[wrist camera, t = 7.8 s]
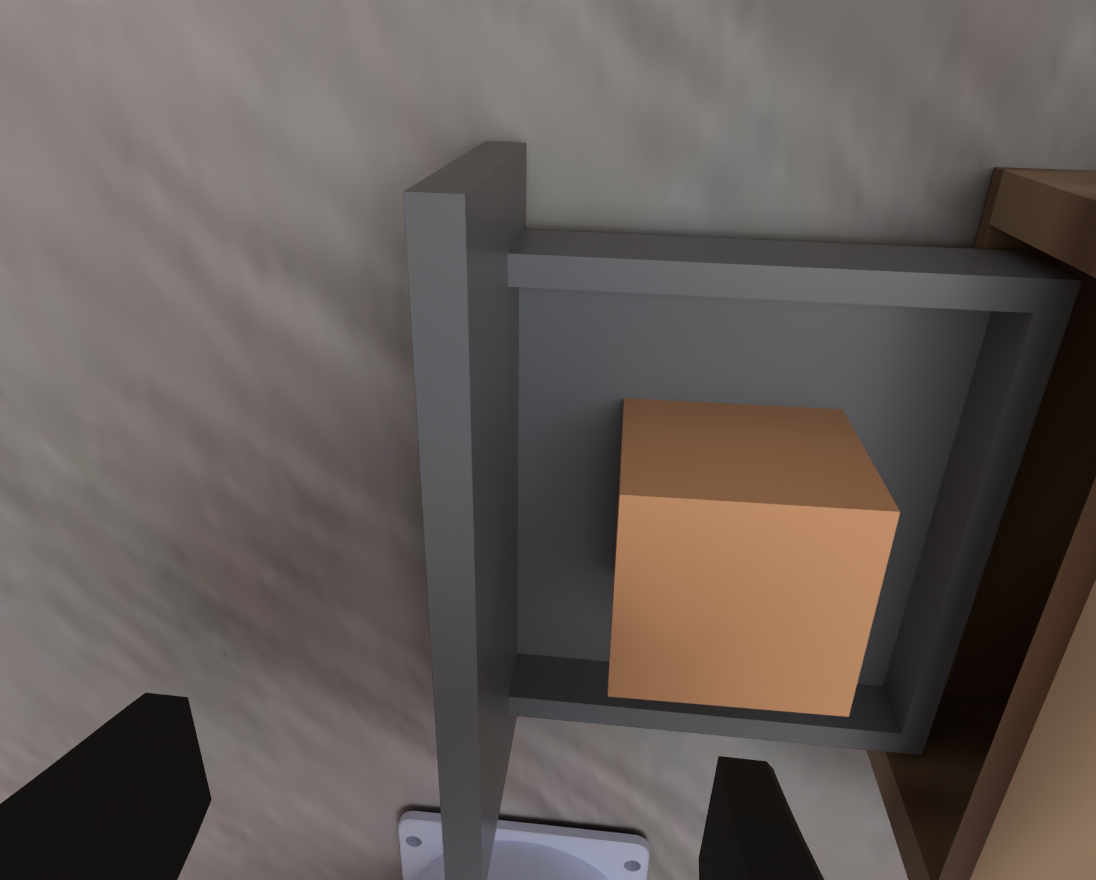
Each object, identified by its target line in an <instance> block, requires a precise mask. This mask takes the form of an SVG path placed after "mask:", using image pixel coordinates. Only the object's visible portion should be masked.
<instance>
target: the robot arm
mask: <svg viewBox="0 0 1096 880" xmlns="http://www.w3.org/2000/svg"><path fill="white" fill-rule="evenodd" d="M210 802H211V795H210V791H209V787H208V782H207V778H206V774H205V769H204V765H203V761H202V756H201V752H200V748H199V744H198V739H197V735H196V731H195V726H194V722H193V718H192V713H191V709H190V705H189V700H188V697H180V696H171V695H161V694H152V693H145V694H143V695H142V696H141V697H139V698H138V699H137V700H135V701H134V702H133V703H131V704H130V705H129V706H127V707H126V708H125V709H123V710H122V711H121V712H119V713H118V714H117V715H115V716H114V717H113V718H112V719H110V720H109V721H108V722H106V723H105V724H104V725H103V726H101V727H100V728H99V729H97V730H96V731H95V732H94V733H92V734H91V735H90V736H88V737H87V738H86V739H85V740H83V741H82V742H81V743H79V744H78V745H77V746H76V747H74V748H73V749H72V750H70V751H69V752H68V753H67V754H65V755H64V756H63V757H61V758H60V759H59V760H58V761H56V762H55V763H54V764H52V765H51V766H50V767H49V768H47V769H46V770H45V771H43V772H42V773H41V774H39V775H38V776H37V777H35V778H34V779H33V780H31V781H30V782H29V783H28V784H26V785H25V786H24V787H22V788H21V789H20V790H18V791H17V792H16V793H14V794H13V795H12V796H10V797H9V798H8V799H6V800H5V801H4V802H2V803H1V804H0V880H177V879H178V877H179V875H180V872H181V870H182V868H183V866H184V863H185V861H186V859H187V857H188V854H189V852H190V850H191V848H192V845H193V843H194V841H195V838H196V836H197V834H198V831H199V829H200V826H201V824H202V822H203V819H204V817H205V814H206V812H207V809H208V807H209V805H210ZM398 835H399V845H400V855H401V865H402V875H403V880H445V874H444V857H443V841H442V824H441V813H431V812H422V811H408V812H405V813H404V814H403V815H402V816H401V818H400V821H399V825H398ZM648 864H649V843H648V842H647V840H646V839H644V838H643V837H641V836H639V835H634V834H625V833H616V832H607V831H597V830H588V829H579V828H570V827H561V826H551V825H542V824H533V823H524V822H514V821H505V820H498V822H497V828H496V833H495V839H494V844H493V849H492V855H491V860H490V866H489V871H488V877H487V880H647V872H648ZM699 880H824V878H823V876H822V875H821V873H820V871H819V869H818V867H817V864H816V862H815V860H814V858H813V856H812V854H811V852H810V850H809V848H808V846H807V844H806V842H805V840H804V838H803V836H802V834H801V831H800V829H799V827H798V825H797V823H796V821H795V819H794V816H793V814H792V812H791V810H790V807H789V805H788V803H787V801H786V798H785V796H784V794H783V791H782V789H781V787H780V784H779V782H778V780H777V777H776V775H775V772H774V769H773V768H772V767H771V766H770V765H769V764H768V763H767V762H766V761H757V760H748V759H739V758H730V757H721V756H719V757H718V762H717V767H716V773H715V778H714V783H713V788H712V793H711V798H710V803H709V809H708V814H707V819H706V824H705V829H704V834H703V839H702V845H701V850H700V855H699Z"/></svg>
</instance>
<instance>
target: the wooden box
mask: <svg viewBox="0 0 1096 880" xmlns="http://www.w3.org/2000/svg"><path fill="white" fill-rule="evenodd" d="M974 249H988V250H1011V251H1027V252H1029V253H1031V254H1033V255H1035V256H1037V257H1038V258H1040V259H1042V260H1044V261H1046V262H1048V263H1050V264H1052V265H1054V266H1056V267H1057V268H1059V269H1061V270H1063V271H1065V272H1067V273H1069V274H1071V275H1073V276H1075V277H1076V278H1078V279H1080V280H1082V282H1081V284H1080V287H1079V290H1078V293H1077V296H1076V299H1075V302H1074V305H1073V308H1072V311H1071V314H1070V317H1069V320H1068V323H1067V326H1066V329H1065V332H1064V335H1063V338H1062V341H1061V344H1060V347H1059V350H1058V353H1057V356H1056V359H1055V362H1054V365H1053V368H1052V371H1051V374H1050V377H1049V380H1048V382H1047V385H1046V388H1045V391H1044V394H1043V397H1042V400H1041V403H1040V406H1039V409H1038V412H1037V415H1036V418H1035V421H1034V424H1033V427H1032V430H1031V433H1030V436H1029V439H1028V442H1027V445H1026V448H1025V451H1024V454H1023V457H1022V460H1021V463H1020V466H1019V469H1018V472H1017V475H1016V478H1015V480H1014V483H1013V486H1012V489H1011V492H1010V495H1009V498H1008V501H1007V504H1006V507H1005V510H1004V513H1003V516H1002V519H1001V522H1000V525H999V528H998V531H997V534H996V537H995V540H994V543H993V546H992V549H991V552H990V555H989V558H988V561H987V564H986V567H985V570H984V573H983V575H982V578H981V581H980V584H979V587H978V590H977V593H976V596H975V599H974V602H973V605H972V608H971V611H970V614H969V617H968V620H967V623H966V626H965V629H964V632H963V635H962V638H961V641H960V644H959V647H958V650H957V653H956V656H955V659H954V662H953V665H952V668H951V671H950V673H949V676H948V679H947V682H946V685H945V688H944V691H943V694H942V697H941V700H940V703H939V706H938V709H937V712H936V715H935V718H934V721H933V724H932V727H931V730H930V733H929V736H928V739H927V742H926V745H925V748H924V751H923V754H922V755H916V754H906V753H896V752H885V751H875V750H867V753H868V756H869V759H870V762H871V765H872V768H873V771H874V774H875V777H876V780H877V783H878V787H879V790H880V793H881V796H882V799H883V802H884V805H885V808H886V811H887V814H888V818H889V821H890V824H891V827H892V830H893V833H894V836H895V839H896V842H897V845H898V848H899V852H900V855H901V858H902V861H903V864H904V867H905V870H906V873H907V876H908V879H909V880H1096V171H1084V170H1056V169H1028V168H1000V167H995V170H994V174H993V178H992V182H991V185H990V189H989V193H988V196H987V200H986V204H985V208H984V211H983V215H982V219H981V223H980V226H979V230H978V234H977V238H976V241H975V245H974Z"/></svg>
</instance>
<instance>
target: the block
mask: <svg viewBox="0 0 1096 880" xmlns="http://www.w3.org/2000/svg"><path fill="white" fill-rule="evenodd" d="M899 515H900V511H899V509H898V507H897V505H896V503H895V502H894V500H893V498H892V496H891V495H890V493H889V491H888V489H887V487H886V486H885V484H884V482H883V480H882V478H881V477H880V475H879V473H878V471H877V470H876V468H875V466H874V464H873V462H872V461H871V459H870V457H869V455H868V454H867V452H866V450H865V448H864V446H863V445H862V443H861V441H860V439H859V437H858V436H857V434H856V432H855V430H854V429H853V427H852V425H851V423H850V421H849V420H848V418H847V416H846V414H845V413H844V411H843V409H827V408H807V407H788V406H768V405H748V404H729V403H709V402H689V401H670V400H650V399H630V398H624V406H623V423H622V440H621V458H620V475H619V492H618V509H617V526H616V543H615V560H614V578H613V598H612V619H611V639H610V659H609V679H608V696H609V697H621V698H633V699H645V700H657V701H668V702H680V703H692V704H704V705H715V706H727V707H739V708H751V709H763V710H774V711H786V712H798V713H810V714H821V715H833V716H845V717H849V714H850V710H851V706H852V702H853V698H854V694H855V690H856V686H857V682H858V678H859V674H860V670H861V666H862V662H863V658H864V654H865V650H866V646H867V642H868V638H869V634H870V630H871V626H872V622H873V618H874V615H875V611H876V607H877V603H878V599H879V595H880V591H881V587H882V583H883V579H884V575H885V571H886V567H887V563H888V559H889V555H890V551H891V547H892V543H893V539H894V535H895V531H896V527H897V523H898V519H899Z"/></svg>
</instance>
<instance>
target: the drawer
mask: <svg viewBox="0 0 1096 880" xmlns="http://www.w3.org/2000/svg"><path fill="white" fill-rule="evenodd" d="M403 194H404V210H405V227H406V243H407V260H408V277H409V293H410V310H411V326H412V343H413V360H414V376H415V393H416V409H417V426H418V443H419V459H420V476H421V492H422V509H423V526H424V542H425V559H426V575H427V592H428V608H429V625H430V642H431V658H432V675H433V691H434V708H435V725H436V741H437V758H438V774H439V791H440V808H441V824H442V841H443V857H444V874H445V880H487V877H488V871H489V866H490V860H491V855H492V849H493V844H494V839H495V833H496V828H497V822H498V817H499V811H500V806H501V800H502V795H503V789H504V784H505V779H506V773H507V768H508V762H509V757H510V751H511V746H512V740H513V735H514V730H515V724H516V719H517V716H524V717H534V718H545V719H555V720H565V721H576V722H586V723H596V724H607V725H617V726H627V727H638V728H648V729H658V730H669V731H679V732H689V733H700V734H710V735H720V736H731V737H741V738H751V739H762V740H772V741H782V742H792V743H803V744H813V745H823V746H834V747H844V748H854V749H865V750H875V751H885V752H896V753H906V754H916V755H922V754H923V751H924V748H925V745H926V742H927V739H928V736H929V733H930V730H931V727H932V724H933V721H934V718H935V715H936V712H937V709H938V706H939V703H940V700H941V697H942V694H943V691H944V688H945V685H946V682H947V679H948V676H949V673H950V671H951V668H952V665H953V662H954V659H955V656H956V653H957V650H958V647H959V644H960V641H961V638H962V635H963V632H964V629H965V626H966V623H967V620H968V617H969V614H970V611H971V608H972V605H973V602H974V599H975V596H976V593H977V590H978V587H979V584H980V581H981V578H982V575H983V573H984V570H985V567H986V564H987V561H988V558H989V555H990V552H991V549H992V546H993V543H994V540H995V537H996V534H997V531H998V528H999V525H1000V522H1001V519H1002V516H1003V513H1004V510H1005V507H1006V504H1007V501H1008V498H1009V495H1010V492H1011V489H1012V486H1013V483H1014V480H1015V478H1016V475H1017V472H1018V469H1019V466H1020V463H1021V460H1022V457H1023V454H1024V451H1025V448H1026V445H1027V442H1028V439H1029V436H1030V433H1031V430H1032V427H1033V424H1034V421H1035V418H1036V415H1037V412H1038V409H1039V406H1040V403H1041V400H1042V397H1043V394H1044V391H1045V388H1046V385H1047V382H1048V380H1049V377H1050V374H1051V371H1052V368H1053V365H1054V362H1055V359H1056V356H1057V353H1058V350H1059V347H1060V344H1061V341H1062V338H1063V335H1064V332H1065V329H1066V326H1067V323H1068V320H1069V317H1070V314H1071V311H1072V308H1073V305H1074V302H1075V299H1076V296H1077V293H1078V290H1079V287H1080V284H1081V282H1082V280H1080V279H1078V278H1076V277H1075V276H1073V275H1071V274H1069V273H1067V272H1065V271H1063V270H1061V269H1059V268H1057V267H1056V266H1054V265H1052V264H1050V263H1048V262H1046V261H1044V260H1042V259H1040V258H1038V257H1037V256H1035V255H1033V254H1031V253H1029V252H1027V251H1011V250H988V249H966V248H943V247H920V246H898V245H875V244H852V243H830V242H807V241H784V240H762V239H739V238H716V237H694V236H671V235H648V234H626V233H603V232H580V231H558V230H535V229H525V203H526V143H514V142H484V143H482V144H481V145H479V146H477V147H476V148H474V149H473V150H471V151H469V152H468V153H466V154H464V155H463V156H461V157H459V158H458V159H456V160H455V161H453V162H451V163H450V164H448V165H446V166H445V167H443V168H441V169H440V170H438V171H437V172H435V173H433V174H432V175H430V176H428V177H427V178H425V179H423V180H422V181H420V182H419V183H417V184H415V185H414V186H412V187H410V188H409V189H407V190H405V191H404V192H403ZM624 398H630V399H650V400H670V401H689V402H709V403H729V404H748V405H768V406H788V407H807V408H827V409H843V411H844V413H845V414H846V416H847V418H848V420H849V421H850V423H851V425H852V427H853V429H854V430H855V432H856V434H857V436H858V437H859V439H860V441H861V443H862V445H863V446H864V448H865V450H866V452H867V454H868V455H869V457H870V459H871V461H872V462H873V464H874V466H875V468H876V470H877V471H878V473H879V475H880V477H881V478H882V480H883V482H884V484H885V486H886V487H887V489H888V491H889V493H890V495H891V496H892V498H893V500H894V502H895V503H896V505H897V507H898V509H899V511H900V515H899V519H898V523H897V527H896V531H895V535H894V539H893V543H892V547H891V551H890V555H889V559H888V563H887V567H886V571H885V575H884V579H883V583H882V587H881V591H880V595H879V599H878V603H877V607H876V611H875V615H874V618H873V622H872V626H871V630H870V634H869V638H868V642H867V646H866V650H865V654H864V658H863V662H862V666H861V670H860V674H859V678H858V682H857V686H856V690H855V694H854V698H853V702H852V706H851V710H850V714H849V717H845V716H833V715H821V714H810V713H798V712H786V711H774V710H763V709H751V708H739V707H727V706H715V705H704V704H692V703H680V702H668V701H657V700H645V699H633V698H621V697H609V696H608V679H609V659H610V639H611V619H612V598H613V578H614V560H615V543H616V526H617V509H618V492H619V475H620V458H621V440H622V423H623V406H624Z"/></svg>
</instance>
